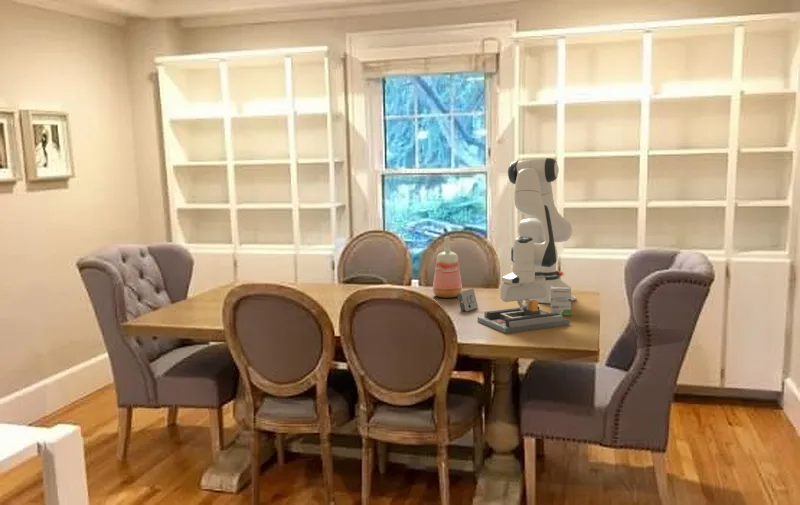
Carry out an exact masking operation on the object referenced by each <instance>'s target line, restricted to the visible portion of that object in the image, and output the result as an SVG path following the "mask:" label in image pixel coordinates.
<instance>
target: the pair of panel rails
mask: <svg viewBox="0 0 800 505" xmlns="http://www.w3.org/2000/svg"><path fill="white" fill-rule="evenodd" d="M538 310H540V306H538ZM517 311H521V310H520V306H519V307H514V308H513V307H511V308H503V309H495V310H486V311H484V315H483V316H485V317H487V318H490V319H491V318H499V317H500V314H501V313H509V312H517ZM523 311H524V310H523ZM548 313H549V314H541V315H534V316H526V317H518V318H510V319H506V325H507V326H509V327H511V328H513V327H520V326H528V325H535V324H543V323H550V322H557V321H563V318H564V315H560V314H559V313H551V312H548Z"/></svg>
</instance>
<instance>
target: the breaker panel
mask: <svg viewBox="0 0 800 505" xmlns="http://www.w3.org/2000/svg"><path fill="white" fill-rule="evenodd" d="M539 310H540V314H535V315H541V314H549V313H550V312H547V311H544V310H541V309H539ZM527 316H534V315H527ZM518 317H526V316H524V311H517V312H509V313H501V314H500V317H499V318H491V319H490V318H487V317H485V316H484V315H483V316H482V315H481V316H477V322H478V323H479V324H482V325H485V326H487V327H488V328H489V327H490V328H492V329H494V330H496V331H498V332H500V333H503V334H515V333H522V332H528V331H536V330H542V329H549V328H556V327H565V326H571V320H570V319H568V318H564V317H563V321H557V322H550V323H543V324H535V325H528V326H520V327H513V328H511V327H509V326H507V325H506V319H510V318H518Z"/></svg>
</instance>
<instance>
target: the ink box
mask: <svg viewBox="0 0 800 505" xmlns="http://www.w3.org/2000/svg"><path fill="white" fill-rule="evenodd" d="M571 295H572V288H571V286H569V287H551V303H550V313H559V314H560V315H562V316H572V301H571Z"/></svg>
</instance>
